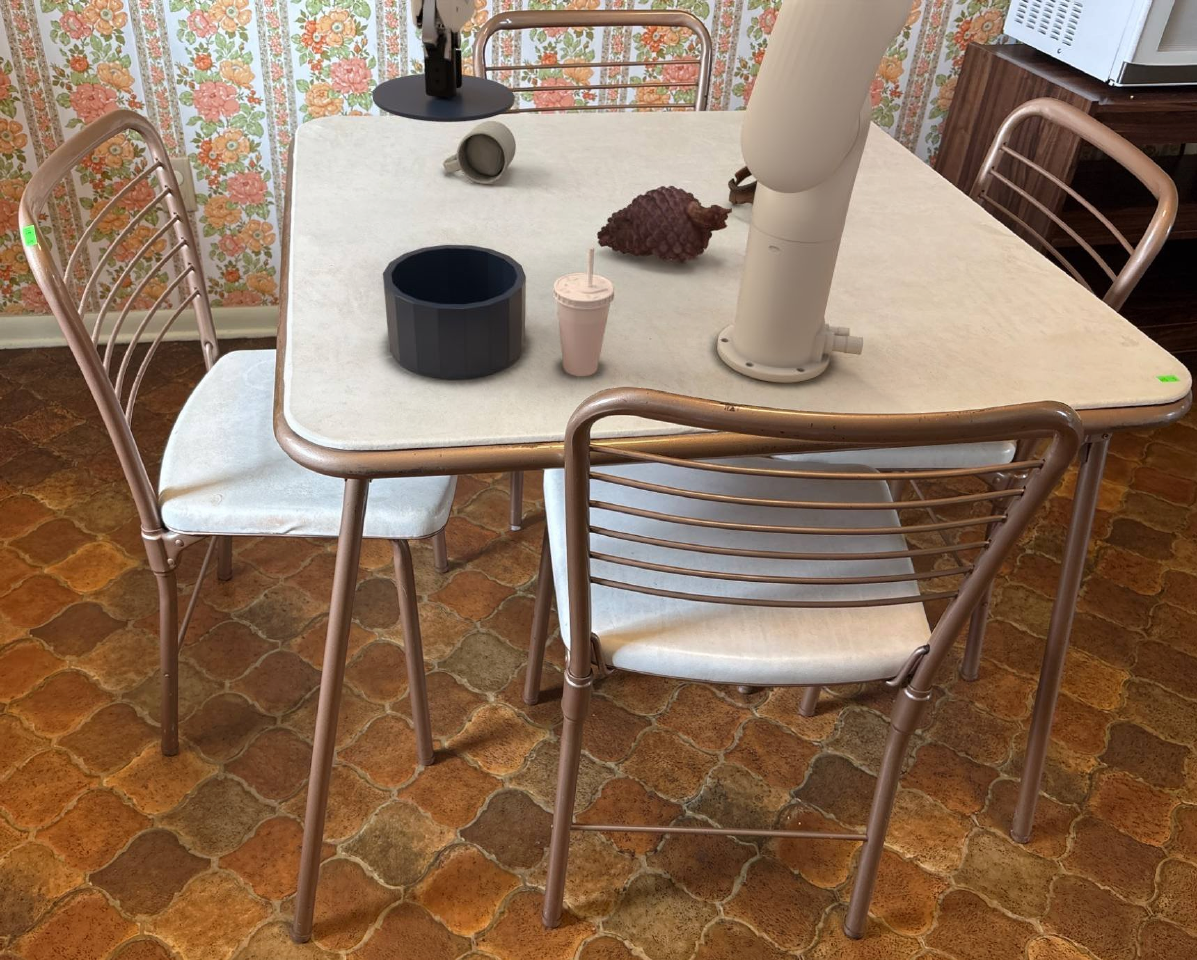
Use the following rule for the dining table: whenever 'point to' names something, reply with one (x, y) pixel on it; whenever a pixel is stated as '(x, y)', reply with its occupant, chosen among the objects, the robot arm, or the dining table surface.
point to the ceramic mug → (484, 153)
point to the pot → (455, 311)
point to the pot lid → (443, 99)
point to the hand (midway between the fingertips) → (444, 89)
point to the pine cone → (663, 225)
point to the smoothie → (582, 317)
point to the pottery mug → (742, 188)
